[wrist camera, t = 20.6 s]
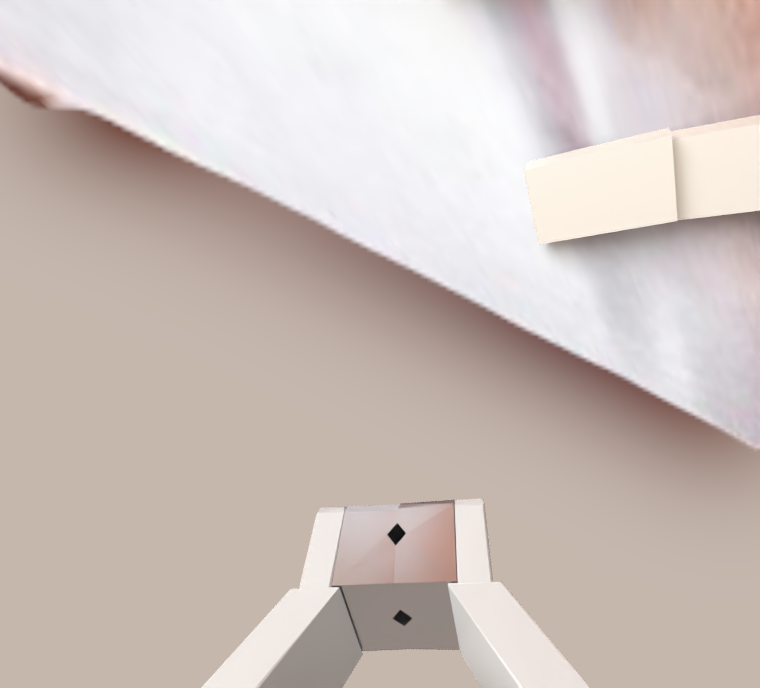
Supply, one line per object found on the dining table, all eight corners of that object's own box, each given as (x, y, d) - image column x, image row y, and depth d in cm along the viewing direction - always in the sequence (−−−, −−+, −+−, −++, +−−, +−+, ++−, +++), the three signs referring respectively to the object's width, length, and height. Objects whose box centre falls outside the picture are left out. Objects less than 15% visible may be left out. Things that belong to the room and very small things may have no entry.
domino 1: (527, 161, 34) (669, 127, 30) (541, 233, 36) (674, 209, 33) (523, 170, 33) (671, 135, 29) (538, 244, 35) (677, 221, 31)
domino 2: (637, 137, 33) (798, 107, 29) (640, 214, 35) (789, 195, 32) (638, 145, 31) (807, 115, 28) (641, 224, 34) (797, 205, 30)
